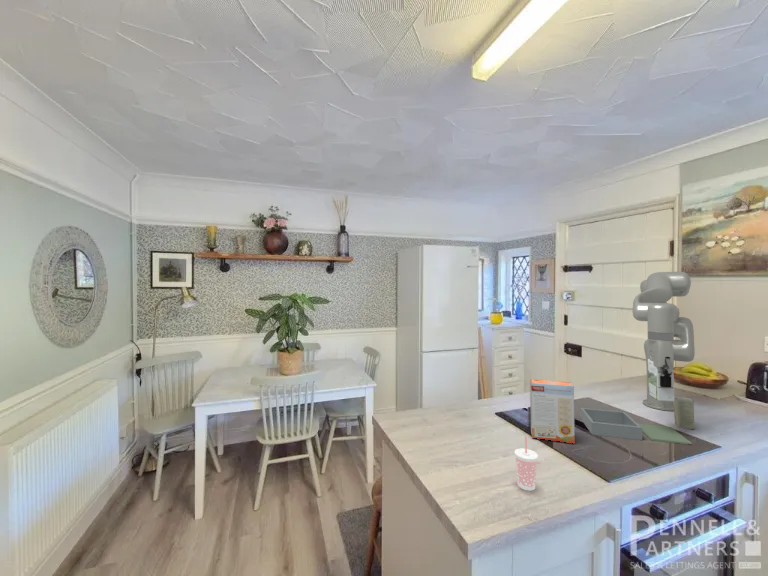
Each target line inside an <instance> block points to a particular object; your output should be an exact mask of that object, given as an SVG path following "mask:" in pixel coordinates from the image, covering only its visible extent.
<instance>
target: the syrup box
mask: <svg viewBox="0 0 768 576" xmlns="http://www.w3.org/2000/svg"><path fill="white" fill-rule="evenodd" d="M663 367H666V368H667V366H663ZM664 371H665V370H664ZM660 376H661V371H660V368H657V367H655V366H654V363H653V361H651V360H649V359H648V385H649V396H650V397H652V398H654V399H656V400H659V401H674V397H675V378H674V370H673V371H672V377H671V387H661V386H660Z"/></svg>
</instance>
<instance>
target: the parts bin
mask: <svg viewBox="0 0 768 576" xmlns="http://www.w3.org/2000/svg"><path fill="white" fill-rule="evenodd" d="M581 419H582V420H581ZM580 420H581V421H582V423H583V424H584V425H585V427H586V428H587V430H588V431H589V433H590V434H591V435H593V436H603V437H611V438H621V439H626V440H627V439H629V440H636V441H637V440H638V441H643V432H642V427H641V426H640V425H639V424H640V423H638V422H636V421H635V420H634V419H633V418H632V417H631V416H630V415H629V414H627V413H626V412H625V411H619V410H618V411H617V410H610V409H609V410H607V409H598V408H597V409H596V408H588V407H587V408H586V407H580ZM593 420H594V421H593Z"/></svg>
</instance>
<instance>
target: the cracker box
mask: <svg viewBox="0 0 768 576" xmlns="http://www.w3.org/2000/svg"><path fill="white" fill-rule="evenodd" d="M574 389H575V387H574V385H573V383H571V382H570V381H563V380H561V381H560V380H547V379H529V393H530V394H529V395H530V396H529V399H530V400H529V401H530V402H529V403H530V405H529V406H530V433H531V437H532V439H533V438H537V439H536V440H540V439H545V440H544V441H548V440H551V441H550V442H556V441H560V442H559V443H564V442H566V444H572V443H573V445H574V444H576V442H575V441H576V440H575V439H576V438H575V433H576V432H575V431H576V430H575V393H574V392H575V391H574Z"/></svg>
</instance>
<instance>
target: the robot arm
mask: <svg viewBox="0 0 768 576" xmlns="http://www.w3.org/2000/svg"><path fill="white" fill-rule="evenodd" d="M691 284H692V281H691V278H690V275H689V274H688V273H687V272H684V271H659V272H657V271H656V272H653V273H651V274H650V275H648V277H647V279H644V280H641V282H640V284H639V286H640V289H639V290H640V293H639V294H637V295H636V296H635V298H634V299H633V301H632V302H633V303H632V316H633V318H634V319H635V320H637V321H639V322H647V339H646V340H645V341H644V343H643V350H644V354H645V355H644V356H645V360H646V361H645V362H646V363H645V366H646V399H643V400H642V404H643V405H644V406H646V407H649V408H652V409H656V410H661V411H668V412H670V411H671V412H674V401H659V400H656V399H654V398H652V397H650V396H649V385H648V359H649V360H651V361H653V363H654V366H655V367H657V368H660V371H661V376H660V386H661V387H671V377H672V371H673V370H674V366H675V361H676V362H684V363H685V362H692V361H694V359H695V353H696V352H695V351H696V349H695V335H694V330H695V329H694V324H693V322H692V320H691V319H690V318H688V317H683V316H680V309H679V307H678V306H677V305H676V304H673V303H669V301H670V300H671V299H672V298H674V297H680V298H681V297H687V296H688V294H689V292H690V290H691V286H692V285H691ZM675 338H678V339H675ZM663 366H667V368H666V367H663ZM664 370H665V371H664Z"/></svg>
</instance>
